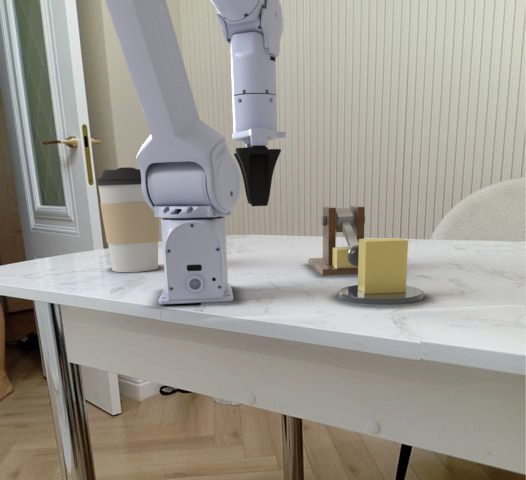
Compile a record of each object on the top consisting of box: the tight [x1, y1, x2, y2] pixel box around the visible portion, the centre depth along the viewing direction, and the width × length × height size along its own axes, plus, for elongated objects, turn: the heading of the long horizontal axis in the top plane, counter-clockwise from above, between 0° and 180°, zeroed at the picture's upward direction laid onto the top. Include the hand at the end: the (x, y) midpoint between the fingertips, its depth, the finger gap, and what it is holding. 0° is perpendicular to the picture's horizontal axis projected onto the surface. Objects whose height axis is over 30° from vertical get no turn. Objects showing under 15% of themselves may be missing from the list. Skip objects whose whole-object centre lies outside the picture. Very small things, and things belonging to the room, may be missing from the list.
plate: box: [338, 284, 424, 306], centre depth 64 cm, size 9×9×1 cm
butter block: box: [332, 246, 358, 268], centre depth 81 cm, size 3×4×2 cm
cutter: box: [307, 205, 366, 277], centre depth 84 cm, size 12×8×9 cm, turn 5°
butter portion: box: [357, 237, 409, 294], centre depth 63 cm, size 3×4×6 cm, turn 95°
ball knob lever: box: [335, 207, 359, 267], centre depth 79 cm, size 13×3×3 cm, turn 5°
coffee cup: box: [96, 166, 160, 273], centre depth 89 cm, size 9×9×15 cm
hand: (257, 204), depth 80 cm, fingers open, 7 cm apart
